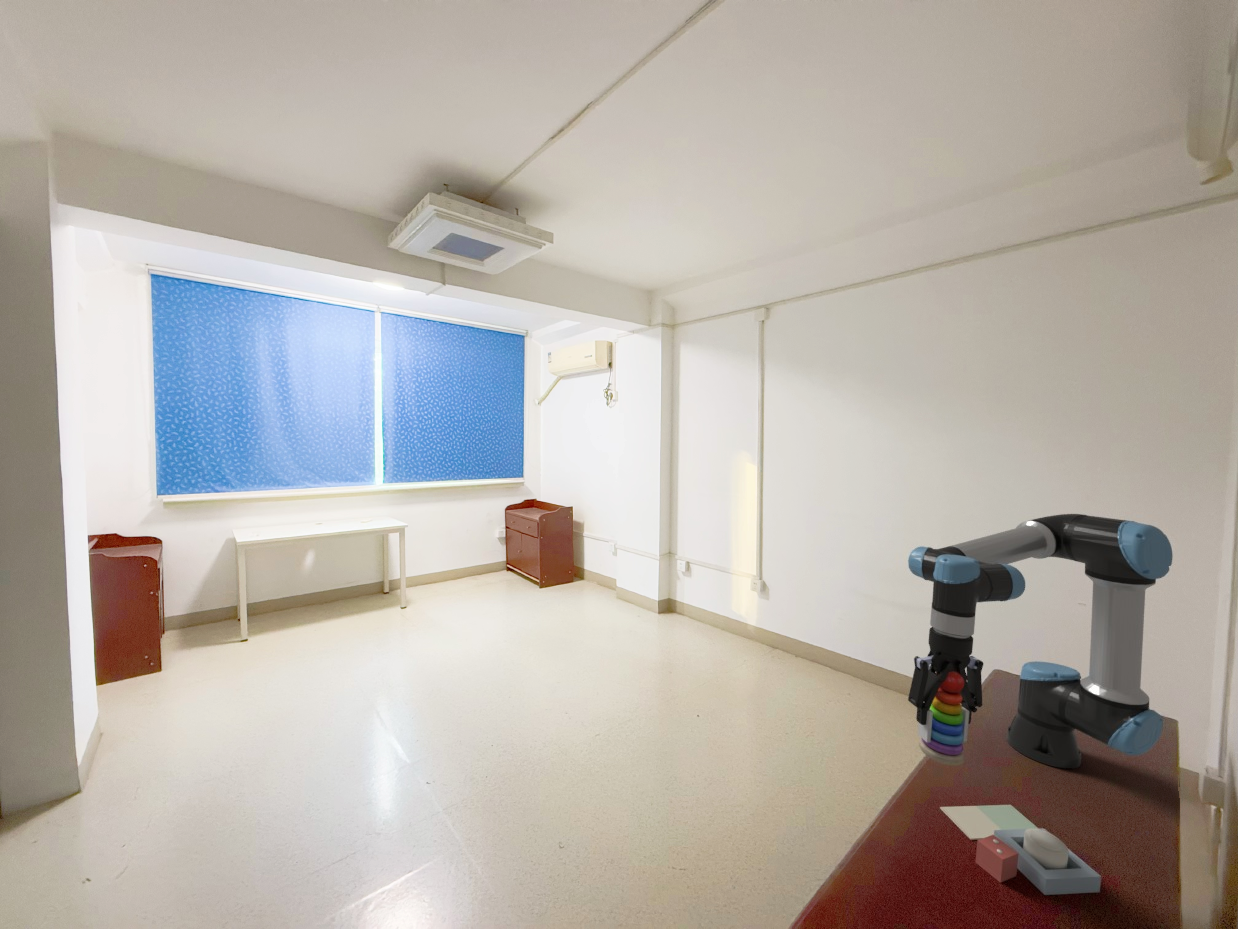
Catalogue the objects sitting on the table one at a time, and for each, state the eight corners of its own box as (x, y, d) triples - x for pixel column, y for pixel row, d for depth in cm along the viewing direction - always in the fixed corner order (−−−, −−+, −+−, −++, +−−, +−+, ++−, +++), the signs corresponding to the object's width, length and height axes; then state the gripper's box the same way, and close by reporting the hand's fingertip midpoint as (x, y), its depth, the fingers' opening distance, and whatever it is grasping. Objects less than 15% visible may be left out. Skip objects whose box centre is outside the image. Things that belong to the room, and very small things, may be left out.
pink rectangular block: (991, 856, 97) (993, 834, 97) (1016, 876, 93) (1018, 852, 92) (975, 862, 95) (977, 839, 95) (1000, 882, 91) (1002, 859, 91)
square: (975, 807, 110) (975, 805, 110) (1009, 838, 102) (1009, 837, 102) (939, 808, 109) (940, 807, 109) (970, 840, 101) (970, 838, 101)
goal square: (1010, 806, 111) (1010, 804, 111) (1046, 837, 102) (1046, 835, 102) (975, 807, 110) (975, 805, 110) (1009, 838, 102) (1009, 837, 102)
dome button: (1043, 847, 98) (1045, 825, 98) (1075, 875, 92) (1078, 852, 92) (1013, 848, 98) (1016, 826, 98) (1044, 877, 91) (1047, 853, 91)
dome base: (1042, 842, 101) (1043, 828, 101) (1099, 892, 90) (1101, 876, 90) (992, 844, 100) (994, 830, 100) (1044, 895, 89) (1046, 879, 89)
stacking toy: (947, 771, 98) (955, 680, 97) (909, 747, 106) (916, 662, 104) (972, 762, 102) (980, 673, 100) (934, 739, 109) (941, 656, 108)
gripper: (981, 624, 107) (972, 726, 108) (893, 624, 105) (885, 728, 106) (1012, 638, 99) (1002, 748, 101) (917, 638, 97) (908, 750, 99)
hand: (942, 737), depth 103 cm, fingers closed on stacking toy, 7 cm apart
